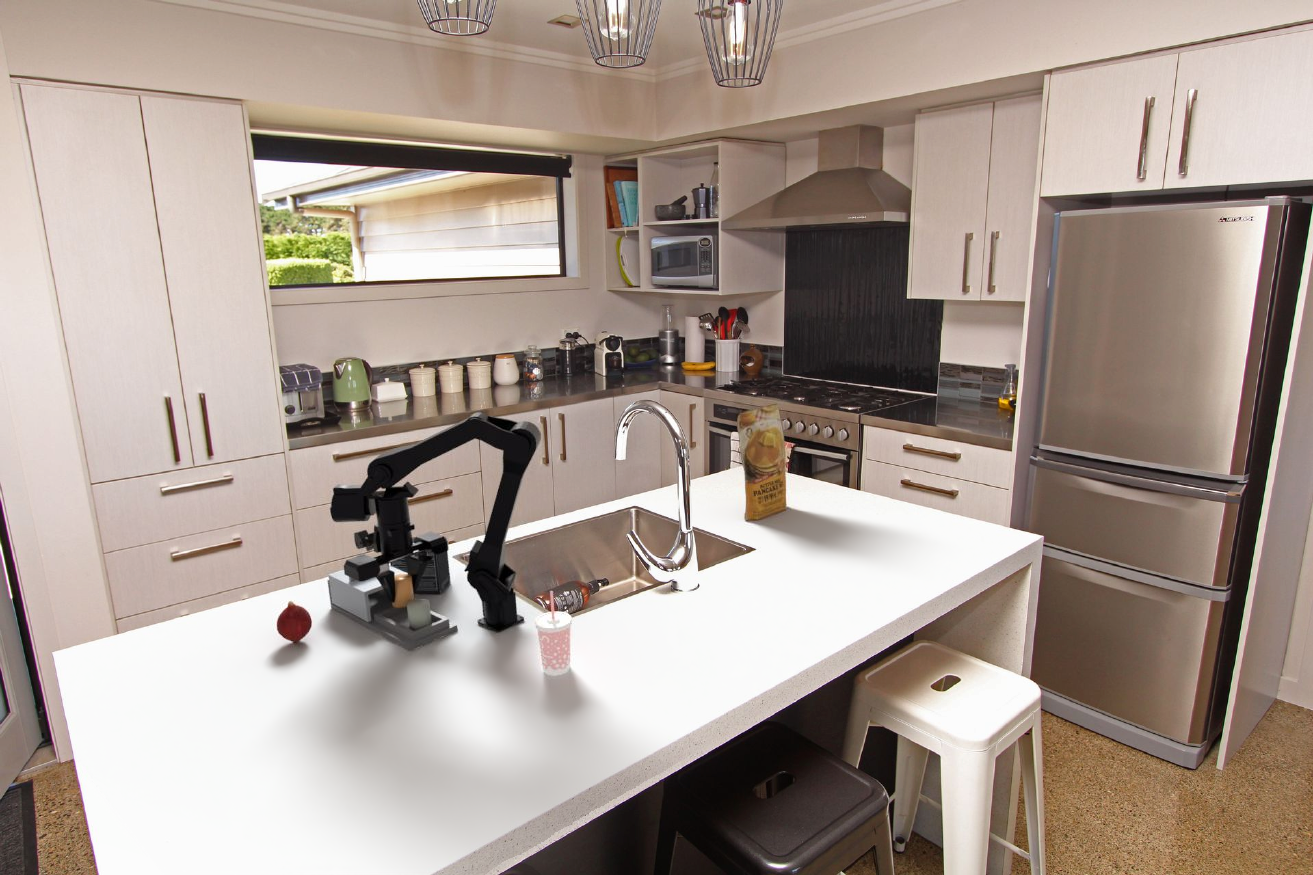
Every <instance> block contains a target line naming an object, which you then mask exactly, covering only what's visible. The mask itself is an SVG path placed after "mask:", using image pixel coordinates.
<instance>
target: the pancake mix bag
mask: <svg viewBox="0 0 1313 875" xmlns="http://www.w3.org/2000/svg"><path fill="white" fill-rule="evenodd" d="M736 428H737V434H738V440H739V452H740V455H739V456H740V461H741V464H742V467H743V471H744V473H743V475H744V490H745V491H744V492H745V512H744V518H743V519H744V521H758V520H762V519H764V518H768V517H771V516H773V515H777V514H779V513H781V512H784V511H785V510H787V477H786V475H787V474H786V470H787V468H786V466H787V464H786V462H787V461H786V446H785V445H786V444H785V443H786V442H785V435H784V430H783V423H782V417H781V411H780V407H779V405H778V404H777V403H772V404H769V405H765V406H760V407H756V408H753V409H748V410H746V411H743V412H740V413H739V414H738V416H737V422H736Z"/></svg>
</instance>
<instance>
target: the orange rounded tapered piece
mask: <svg viewBox="0 0 1313 875" xmlns="http://www.w3.org/2000/svg"><path fill="white" fill-rule="evenodd" d="M413 600H415V594H414V593H413V585H412V576H411V575H409V574H399V575H395V602H393V603H392V605H393V606H394V607H398V608H401V607H407V604H408V603H409V602H411V601H413Z"/></svg>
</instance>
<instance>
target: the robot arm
mask: <svg viewBox="0 0 1313 875" xmlns="http://www.w3.org/2000/svg"><path fill="white" fill-rule="evenodd" d="M473 440H478V441H482V442H484V443H485V444H486V445H489V446H491V447H493V448H495V449H497V450H501V451H502V474H501V478H500V481H499V485H498V488H497V492H496V496H495V499H494V503H493V505H492V510H491V514H490V517H489V521H488V524H487V528H486V530H485V531H486V532H485V534H484V539H483V541H481V540H479V539H476V541H475V542H474V543H473V545H472V547H471V549H470V551H469V555H468V556H469V557H468V562H467V565H466V566H465V568H464V572H467V574H466V580H467V582H468V584H469V585H470V587H472V588H473V590H475V591H476V592H477V595H478V597H479V599H480V601H481V607H482V615H483V617H481V618H479V619H477V624H479V625H481V626H483V627H485V628H487V629H489V630H492V631H494V632H498V633H499V632H502V631H504V630H506V629H509V628H510V627H513V626H514V625H517V624H519V623H521V622H523V621H524V620H525V617H524V616H522V615H520V614H518V611H517V610H518V608H517V594H516V592H515V590H514V588H513V587H512V586H513V585H514V582H515V580H516V577H517V571H515V569H513V568H511V567H510V566H509V565H508V564H506V562H505V560H506V538H507V535H508V531H509V528H510V524H511V522H512V517H513V514H514V510H515V507H516V503H517V500H518V496H519V494H520V490H521V486H522V483H523V479H524V475H525V473H526V471H527V469H528V467H529V465H530V463H531V461H532V459H533V457H534V455H535V453H536V452H537V450H538V447H539V444H540V443H541V441H542V434H541V431H540V430H539V427H538V426H537V425H536V424H534V423H532V422H531V421H525V420H523V421H519V422H518V421H515V420H511V419H509V418H503V417H496V416H492V415H489V414H486V413H483V412H475V413H473V414H471V415H470V416H469V417H467V418H465V419H464V420H461V421H459V422H457V423H455V424H453V425H451V426H449V427H447V428H444V429H442V430H440V431H439V432H436V433H434V434H432V435H430V436H428V437H426V438H424V439H423V440H420V441H418V442H415V443H413V444H408V445H407V444H406V445H401V446H398V447H395V448H391V449H387V450H385V451H383V452H382V453H381V454H379V455H378V456H376V457H375V458H374V459H373V460H372V461H370V462H369V464H368V466H367V468H366V469H367V470H366V471H367V472H366V474H367V478H366V479H365V480H364V481H363V483H362V484H352V485H348V484H337V485H335V486H334V487H333V488H332V491H333V495H332V498H331V504H330V508H329V510H330V516H331V519H332V521H333V522H334V523H349V522H350V523H351V522H352V523H354V522H368V521H370V518H371V517H372V516H374V515H375V514H376V521H377V524H374V525H373V531H372V532H370V533H369V532H368V531H367V529H364V530H361V531H357V532H353V538H354V544H355V548H356V549H357V550H360V549H363V548H365V550H366V552H369V551H372V550H373V552H375V553H377V554H378V553H380V555H377V556H375V557H371V556H369V555H368V554H367V555H366V554H365V553H363V554H360V555H357V556H355V557H352V558H349V559H346V560H345V562H344V565H343V570H344V573H345V575H347V576H349V577H351V578H353V579H355V580H357V581H366V580H369V579H371V578H374V577H376V578H377V580H378V581H379V582H380V584H381V586H382V588H383V589H384V591H385V593H386V595H387V597H388V598H389V600H390V602H392V603H393V602H395V572H393V571H391V570H389V566H390V563H392V562H395V561H397V560H400V559H403V558H404V560H405V562H406V564H407V570H408V574H409V575H411V576H412V585H413V593H414V595H415V593H416V590H417V588H418V585H419V583H420V580H421V578H422V575H423V573H424V571H425V569H426V567H427V565H428V563H429V562H430V561H432V557H431V556H428V550H429V549H431V552H432V553H434V554H436V555H437V554H440V553H443V552H446V551H447V552H448V551H449V550H450V549H449V548H450V547H449V541H448V539H447V537H446V536H444V535H441V534H439V533H435V532H432V531H430V532H429V531H428V532H425V533H423V534H419V535H417V536H415V539H414V543H413V542H412V537H413V535H412V531H414V530H415V529H416V528H415V527H416V526H415V524H414V523H412V522H411V519H410V518H411V517H410V516H411V515H410V508H409V498H410V499H411V498H414V497H415V496H416V495H417V494H418V493H419V488H417V487H416V486H414V485H412V484H411V483H410V482H409V481H406V482H405V483H404V484H403V485H401V486H399V485H398V486H395V485H397V484H398V483H399V482H401V481H402V480H403V479H405V478H406V477H407V476H409V475H410V474H411V473H412V472H413V471H415V470H417V469H418V468H419V467H420V466H422V465H423V464H427V463H428V462H431V461H432V460H434V459H436V458H438V457H440V456H442V455H444V454H446V453H449V452H450V451H452V450H456V448H460V447H461V446H463V445H465V444H467V443H469V442H471V441H473ZM379 489H381V490H379ZM382 489H383V490H382ZM445 537H446V538H445Z"/></svg>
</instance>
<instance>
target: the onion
mask: <svg viewBox="0 0 1313 875" xmlns="http://www.w3.org/2000/svg"><path fill="white" fill-rule="evenodd" d="M312 623H313V621H312V617H311V614H310V612H309V611H308V610H307V609H306V608H305V607H303V606H301V605H298V604H295V603H294V601H292V600H289V601H288V603H287V606H286V608H284V609H283V610H282V611H281V613H280V614H279V615H278V618H277V621H276V630H277V633H278V634H279V635H280V636H281V637H282V638H283V639H285V640H287V641H290V642H293V643H298V642H300V641H301V640H302V639H305V637H306V636H307V635H308V633H309V632H310V630H311V628H312V627H313V626H312V625H313V624H312Z"/></svg>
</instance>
